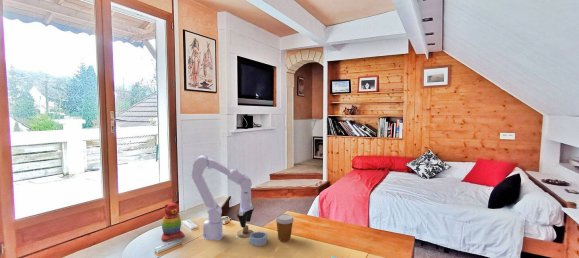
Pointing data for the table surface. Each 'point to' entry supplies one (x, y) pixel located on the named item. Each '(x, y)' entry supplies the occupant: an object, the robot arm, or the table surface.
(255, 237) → the bowl
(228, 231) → the table surface
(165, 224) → the stacking bear
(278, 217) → the disposable coffee cup
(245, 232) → the lid
